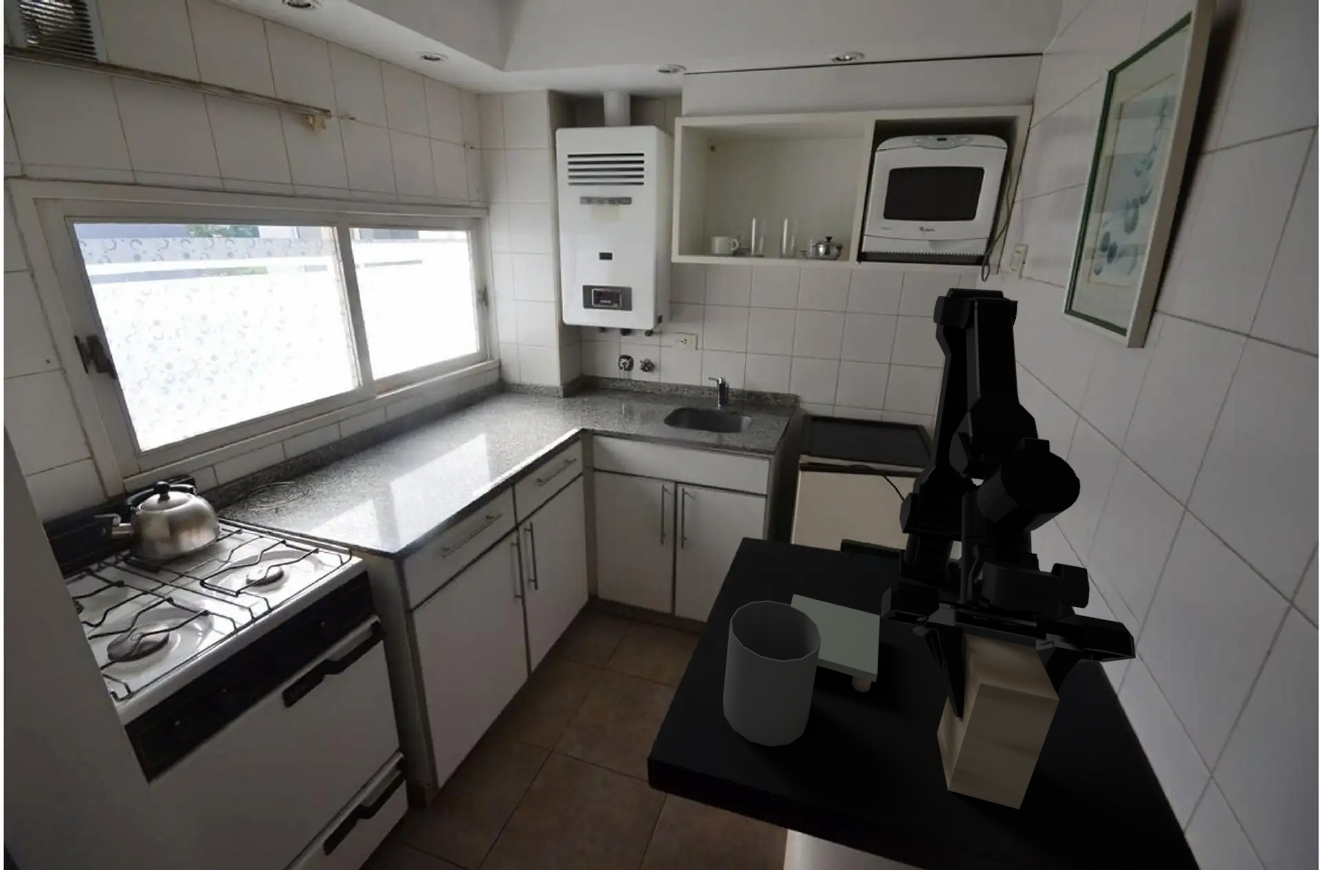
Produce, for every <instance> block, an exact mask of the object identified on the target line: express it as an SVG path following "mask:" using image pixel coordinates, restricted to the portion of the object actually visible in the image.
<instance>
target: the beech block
mask: <svg viewBox="0 0 1320 870" xmlns="http://www.w3.org/2000/svg"><path fill="white" fill-rule="evenodd" d="M961 659H962V673H963V687H964V711H963V718H958V717H955V715H954V712H953V709H952V706H951V703H950V701H949V698H948V695H947V697H946V701H945V704H944V707H943V708H944V709H943V712H942V715H941V719H940V722H939V726H938V728H937V729H938V730H937V733H936V735H937V736H936V737H937V740H938V745H939V751H940V755H941V761H942V766H943V771H944V777H945V782H946V786H947V791H949V792H953V793H958V794H959V795H960V794H961V795H963V796H964V795H965V796H969V797H973V798H975V799H978V800H983V801H986V802H991V803H995V804H997V805H998V804H999V805H1002V806H1006V807H1009V808H1013V809H1017V810H1020V809H1021V806H1022V804H1023V801H1024V798H1025V795H1026V792H1027V790H1028V787H1029V784H1030V782H1031V779H1032V775H1033V773H1034V770H1035V767H1036V765H1037V762H1038V761H1039V760H1038V759H1039V757H1040V754H1041V751H1042V749H1043V746H1044V743H1045V740H1046V738H1047V735H1048V732H1049V730H1050V728H1051V724H1052V721H1053V719H1054V716H1055V713H1056V711H1057V707H1058V706H1059V703H1060V698H1059V696H1058V693H1057V694H1056V692H1055V689H1054V687H1053V685H1052V683H1051V681H1050V679H1049V677H1048V675H1047V672H1046V670H1045V668H1044V666H1043V664H1042V662H1041V660H1040V658H1039V655H1038V653H1037V651H1036V646H1035V647H1033V646H1030V645H1026V644H1025V645H1023V644H1018V643H1014V642H1009V641H1005V640H999V639H994V638H990V637H983V636H979V635H975V634H969V633H964V634H963V637H962V645H961Z"/></svg>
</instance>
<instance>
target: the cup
mask: <svg viewBox="0 0 1320 870" xmlns="http://www.w3.org/2000/svg"><path fill="white" fill-rule="evenodd" d="M729 620H730V621H729V631H728V641H727V653H726V664H725V675H724V684H723V685H724V687H723V697H722V701H723V702H722V703H723V704H722V705H723V715H724V717H725V719H726V720H727V722H728V724H729V726H730V727H731V728H732V729H733V731H735V732H736V733H737V734H739V735H740V736H741V737H743V738H744V739H746V740H747V741H749V742H752V743H755V744H758V745H763V746H767V747H778V746H787V745H790V744H792V743H793V742H795V741H796V740H797V739H798V738H800V737H802V736H803V735H804V732H805V729H806V727H807V724H808V721H809V716H810V709H811V705H812V698H813V691H814V685H815V680H816V674H817V672H816V671H817V667H818V666H817V662H818V655H819V649H820V643H821V636H820V633H819V630H818V626H817V624H816V623H815V622H814V621H813V620H812V619H811V618H810V617H809V616H808V615H807V614H806V613H804V612H802V611H800V610H798V609H796V608H794V607H792V606H791V604H787V603H783V602H777V601H772V600H762V601H750V602H749V603H747V604H745V605H742V606H741V607H739V608H737V609H736V611H735V612H734V614H733V615H732V617H731V618H730V619H729Z"/></svg>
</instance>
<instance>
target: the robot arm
mask: <svg viewBox="0 0 1320 870" xmlns="http://www.w3.org/2000/svg"><path fill="white" fill-rule="evenodd" d="M1018 305H1019V300H1014V299H1010V298H1008V297H1005V295H1004V292H1003V291H1002V290H999V289H982V288H981V289H980V288H979V289H978V288H964V287H963V288H961V287H959V288H958V287H949V288H948V290H947V292H946V295H939V296H937V299H936V300H935V304H934V308H933V323H934V324H936V328H935V339H936V342H937V343H938V344H939V345H938V346H939V347H940V349H941V351H942V352H943V355H944V363H943V372H942V377H941V383H940V384H941V385H940V390H939V391H940V392H939V398H938V404H937V411H936V418H935V419H936V420H935V425H934V433H933V438H932V439H933V440H932V445H931V454H930V458H929V459H930V460H929V462H928V464H927V466H925V468H924V469H923V470H922V471H921V472H920V473H919V474H918V475H917V477H916V478H915V479H914V481H913V485H912V492H911V491H910V492H908V494H907V495H906V496H905V498H904V499H903V501H902V502H901V503H900V504H901V505H900V511H899V517H898V519H899V523H900V527H901V532H902V534H905V535H907V534H908V535H907V541H906V545H905V549H902V548H901V549H900V550H899V573H900V575H903V576H906V577H912V578H915V579H920V580H924V581H928V582H933V583H938V584H943V585H946V586H947V585H951V583H952V578H951V573H950V571H951V570H950V565H949V562H950V559H951V555H952V550H953V546H954V543H955V542H957V543H961V549H960V551H961V552H960V555H961V556H960V557H959V558H958V569H960V599H958V600H957V602H954V601H950V600H949V601H948V600H944V599H940V594H939V590H938V588H936V587H929V586H925V585H919V584H914V583H909V582H903V581H897V582H895V583H894V584H892V585H891V586H889V588H888V589H887V590H886V591H885V592H884V593H883V594H882V598H881V606H880V607H881V608H880V618H881V619H883V620H885V621H891V622H895V623H896V622H897V623H901V624H906V625H911V626H915V625H917V626H915V627H914V628H913V633H912V634H914V635H916V636H919V637H922V638H923V639H924V642H925V643H926V646H927V647H928V649H929V652H930V654H931V655H932V658H933V660H934V662H935V664H936V667H937V669H938V671H939V674H940V675H939V676H940V677H941V680H942V683H943V686H944V689H945V691H946V694H947V696H948V698H949V701H950V703H951V706H952V709H953V712H954V715H955V717H958V718H963V711H964V687H963V673H962V659H961V645H962V642H963V638H964V627H959V626H957V625H961V626H965V627H971V628H976V629H981V630H984V631H985V630H986V631H990V632H995V633H1000V634H1004V635H1005V634H1007V635H1011V636H1016V637H1021V638H1027V639H1031V640H1035V649H1036V651H1037V653H1038V655H1039V658H1040V660H1041V662H1042V664H1043V666H1044V668H1045V670H1046V672H1047V675H1048V677H1049V679H1050V681H1051V683H1052V685H1053V687H1054V689H1055V692H1056V694H1057V695H1058V694H1059V691H1060V689H1061V686H1062V685H1063V683H1064V681H1065V680H1066V677H1067V675H1068V674H1069V672H1071V670H1072V669H1073V668H1074V667H1075V666H1076V665H1077V664H1084V663H1089V662H1095V663H1110V662H1115V661H1117V662H1118V661H1125V660H1133V659H1137V656H1136V654H1137V653H1136V645H1135V637H1134V636H1133V634H1132V633H1131V631H1130V630H1129V629H1128V628H1127V626H1126V625H1125V624H1124V623H1123V622H1121V621H1116V620H1110V619H1105V618H1099V617H1094V616H1089V615H1088V616H1087V615H1082V614H1078V613H1076V614H1074V615H1073V614H1072V615H1069V616H1067V617H1063V618H1062V609H1063V608H1062V607H1063V606H1067V607H1073V608H1078V609H1086V607H1087V606H1088V605H1089V601H1090V591H1091V589H1090V582H1089V581H1090V580H1089V575H1088V568H1085V567H1082V566H1076V565H1071V564H1065V563H1061V562H1055V563H1053V565H1052V568H1051V571H1045V570H1041V569H1040V560H1039V558H1038V553H1033V548H1032V543H1033V542H1032V531H1035V530H1037V529H1039V528H1040V527H1042V526H1044V525H1045V524H1046V523H1048V522H1049V521H1052V520H1053V519H1055V518H1056V517H1057V516H1059V515H1061V514H1062V513H1063V512H1065V511H1066V510H1068V509H1069V508H1071V507H1072V506H1073V505H1074V504H1075V503H1076V502H1077V500H1078V499H1079V496H1080V494H1081V487H1082V486H1081V480H1080V478H1079V477H1078V476H1077V474H1076V472H1075V470H1074V468H1072V467H1071V465H1070V464H1069V463H1068V462H1067V461H1066V460H1065V459H1064V458H1062V457H1061V456H1060V455H1058V454H1056V453H1054V452H1051V442H1050V440H1049V439H1044V438H1039V432H1038V427H1037V422H1036V418H1035V417H1034V416H1033V415H1032V414H1031V413H1030V412H1029V411H1028V409H1026V408H1025V407H1024V406H1023V405H1022V404H1021V403H1020V399H1019V398H1020V397H1019V387H1018V375H1017V361H1016V349H1015V348H1016V347H1015V345H1016V344H1015V335H1014V334H1015V333H1014V331H1015V330H1014V326H1015V323H1016V319H1017V316H1018ZM973 480H981V481H982V482H981V484H978V485H977V484H976V483H975V482H974V481H973ZM1035 615H1039V616H1045V617H1048V618H1053V619H1056V620H1050V619H1045V618H1038V617H1035Z"/></svg>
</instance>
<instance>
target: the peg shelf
mask: <svg viewBox="0 0 1320 870" xmlns="http://www.w3.org/2000/svg"><path fill="white" fill-rule="evenodd" d="M790 606H792V607H794V608H796V609H798V610H800V611H802V612H804V613H806V614H807V615H808V616H809V617H810V618H811V619H812V620H813V621H814V622H815V623H816V624H817V626H818V630H819V633H820V636H821V643H820V649H819V655H818V662H817V667H821V668H825V669H827V670H828V669H829V670H832V671H836V672H838V673H842V674H846V675H849V676H852V681H851V685H852V687H853V689H855V690H856V691H858V692H861V693H867V692H869V691H870V690H871V689H870V688H871V685H872V683H873V682H874V683H876V682H877V677H878V664H879V663H878V661H879V644H880V643H879V641H880V639H879V638H880V618H881V615H880V614H875V613H871V612H867V611H863V610H859V609H855V608H851V607H846V606H844V605H843V606H842V605H838V604H834V603H831V602H827V601H824V600H823V601H822V600H818V599H815V598H810V597H807V596H803V595H798V594H794V593H793V596H792V599H791V603H790Z"/></svg>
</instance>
